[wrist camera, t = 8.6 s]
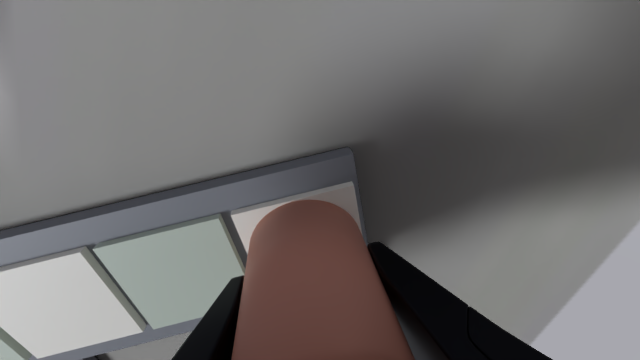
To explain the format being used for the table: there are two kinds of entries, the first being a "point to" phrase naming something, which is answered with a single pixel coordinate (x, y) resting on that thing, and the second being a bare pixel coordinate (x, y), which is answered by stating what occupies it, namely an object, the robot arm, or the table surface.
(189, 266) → the board
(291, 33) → the table surface
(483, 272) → the table surface
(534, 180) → the table surface
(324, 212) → the pawn
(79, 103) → the table surface
